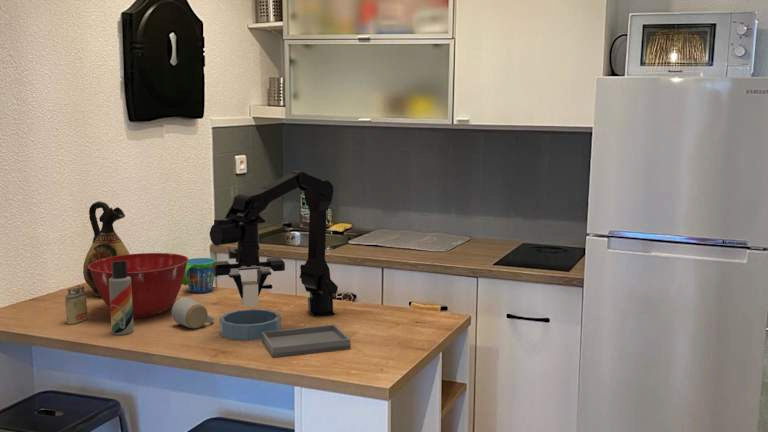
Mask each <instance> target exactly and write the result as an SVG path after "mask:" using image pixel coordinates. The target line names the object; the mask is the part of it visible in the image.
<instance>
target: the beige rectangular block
mask: <svg viewBox="0 0 768 432" xmlns="http://www.w3.org/2000/svg"><path fill="white" fill-rule="evenodd" d="M242 290H243V298H241V297H240V303H241V306H243V308H250V307H252V308H253V307H259V297H258V284H257V280H253V281H242Z"/></svg>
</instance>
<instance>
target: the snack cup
mask: <svg viewBox="0 0 768 432" xmlns="http://www.w3.org/2000/svg"><path fill="white" fill-rule="evenodd" d="M214 262H217V260H216V259H215V258H211V257H196V258H190V259H189V258H188V262H187V265H186V270H185V275H184V279H183V282H182V285H183V286H188V290H189V291H190V292H191V293H193V294H195V293H196V294H202V293H209V292H212V291H213V287H214V280H215V277H216V278H218V277H219V276H216V275H215V274H214V273H213V263H214Z"/></svg>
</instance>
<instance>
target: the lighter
mask: <svg viewBox="0 0 768 432" xmlns="http://www.w3.org/2000/svg"><path fill="white" fill-rule="evenodd" d="M67 293H68V294H65V303H64V304H65V314H66V315H65V318H66V319H65V320H66V324H68V325H75V324H76V325H77V324H79V323H81V322H83V321H86V320H88V307H87V306H88V305H87V294H86V291H85V286H84V285H82V286H81V285H80V284H78V285H76V286H74V287H73V288H71V287H70V288H68V289H67Z"/></svg>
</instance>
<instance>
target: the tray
mask: <svg viewBox="0 0 768 432" xmlns="http://www.w3.org/2000/svg"><path fill="white" fill-rule="evenodd" d="M261 334H262V339H261V343H262V344H263V345H264V347H265V348H266V349H267V351H268V353H269V354H270V355H271V357H272V358H280V357H281V358H282V357H289V356H297V355H306V354H307V355H308V354H316V353H318V354H319V353H325V352H333V351H335V352H336V351H343V350H351V338H349V336H348V335H346V334H345V333H344V332H343V330H341V329H340V328H339V327H338V326H337V325H336V324H328V325H317V326H309V327H308V326H307V327H300V328H299V327H298V328H287V329H281V330H277V331H267V332H261Z"/></svg>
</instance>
